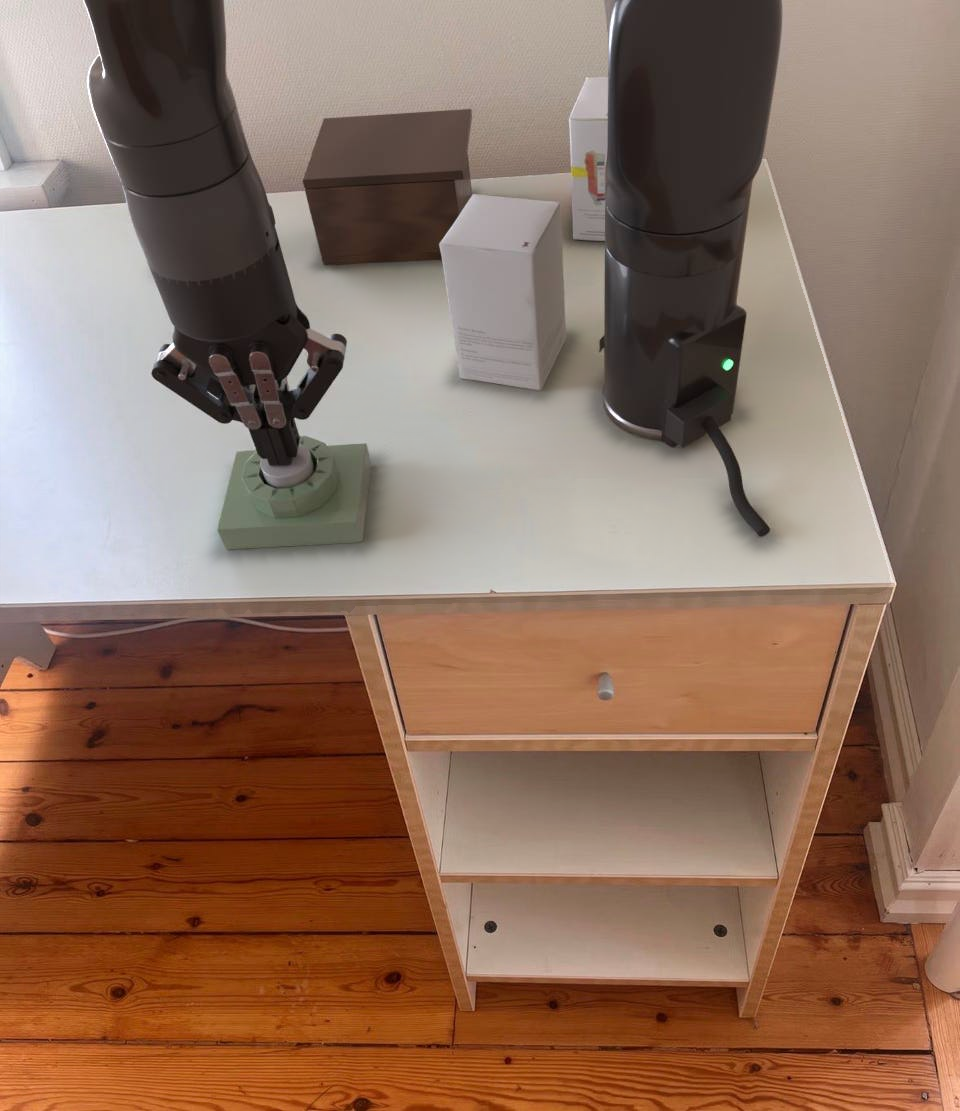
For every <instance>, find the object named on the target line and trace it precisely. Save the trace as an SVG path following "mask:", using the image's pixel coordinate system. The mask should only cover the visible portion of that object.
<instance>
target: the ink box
mask: <svg viewBox="0 0 960 1111" xmlns="http://www.w3.org/2000/svg"><path fill="white" fill-rule="evenodd" d="M568 125H569V147H570V148H569V150H570V170H571V171H570V172H571V176H570V177H571V206H572V209H571V211H572V213H571V214H572V239H573V240H582V241H595V242H596V241H597V242H598V241H599V242H605V166H606V161H607V145H608V76H586V78H585V81H584V83H583V84H582V88H581V89H580V92H579V94H578V97H577V99H576V101H575V103H574V106H573V108H572V110H571V113H570V115H569V117H568Z"/></svg>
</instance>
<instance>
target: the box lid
mask: <svg viewBox="0 0 960 1111" xmlns="http://www.w3.org/2000/svg"><path fill="white" fill-rule="evenodd" d="M472 121H473V112H472V108H463V109H462V108H461V109H449V110H447V109H446V110H433V111H418V112H417V111H416V112H401V113H400V112H399V113H385V114H370V115H355V116H341V117H325V118H323V120H322V122H321V125H320V129H319V131H318V134H317V137H316V140H315V142H314V145H313V148H312V152H311V153H310V157H309V159H308V161H307V162H308V163H307V165H306V168H305V171H304V173H303V174H304V175H303V177H302V185H303V188H304V189H305V188H320V187H338V186H355V185H373V184H391V183H408V182H426V181H444V180H461V179H464V172H465V165H466V158H467V151H468V150H469V143H470V136H471V128H472Z"/></svg>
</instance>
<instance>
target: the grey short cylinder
mask: <svg viewBox="0 0 960 1111" xmlns="http://www.w3.org/2000/svg"><path fill="white" fill-rule="evenodd" d="M260 467H261V470H262V473H263V475H264V478H265V481H266V483H267V485H268V486H271V487H273V488H276V489H283V488H293V487H295V486H297V485H299V484H302V483H304V482H306V481H307V480H308V479H309V478H310V477H311V476H312V475H313V474H314V473H315V472H316V471H315V467H314V464H313V461H312V457H311V454H310V451H309V450H308V448H307V447H305V446H304V445H302V444H300V443H299V446H298V451H297V456H296V457H292V462H291V465H277V466H270V465H269V463H268V460H267V459H262V458H261V462H260Z"/></svg>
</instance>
